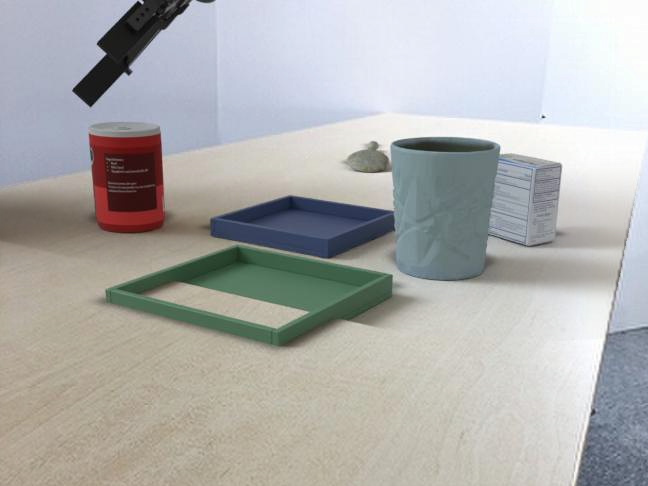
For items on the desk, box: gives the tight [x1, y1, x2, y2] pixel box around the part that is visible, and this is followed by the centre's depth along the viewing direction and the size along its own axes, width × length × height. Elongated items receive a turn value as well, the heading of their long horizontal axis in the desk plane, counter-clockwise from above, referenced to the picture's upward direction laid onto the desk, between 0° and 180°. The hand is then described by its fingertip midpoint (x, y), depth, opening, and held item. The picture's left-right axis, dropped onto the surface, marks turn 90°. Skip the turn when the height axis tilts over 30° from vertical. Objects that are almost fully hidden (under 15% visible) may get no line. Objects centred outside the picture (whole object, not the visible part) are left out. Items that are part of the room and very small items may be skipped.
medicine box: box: [488, 152, 563, 247], centre depth 94 cm, size 8×4×9 cm, turn 34°
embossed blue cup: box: [389, 136, 501, 281], centre depth 81 cm, size 10×10×12 cm
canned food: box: [88, 121, 166, 234], centre depth 95 cm, size 8×8×11 cm
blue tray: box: [209, 194, 395, 259], centre depth 95 cm, size 15×15×2 cm
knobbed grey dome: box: [346, 140, 390, 173], centre depth 140 cm, size 22×3×7 cm
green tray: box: [104, 243, 394, 347], centre depth 72 cm, size 17×17×2 cm
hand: (93, 77), depth 92 cm, fingers open, 13 cm apart
